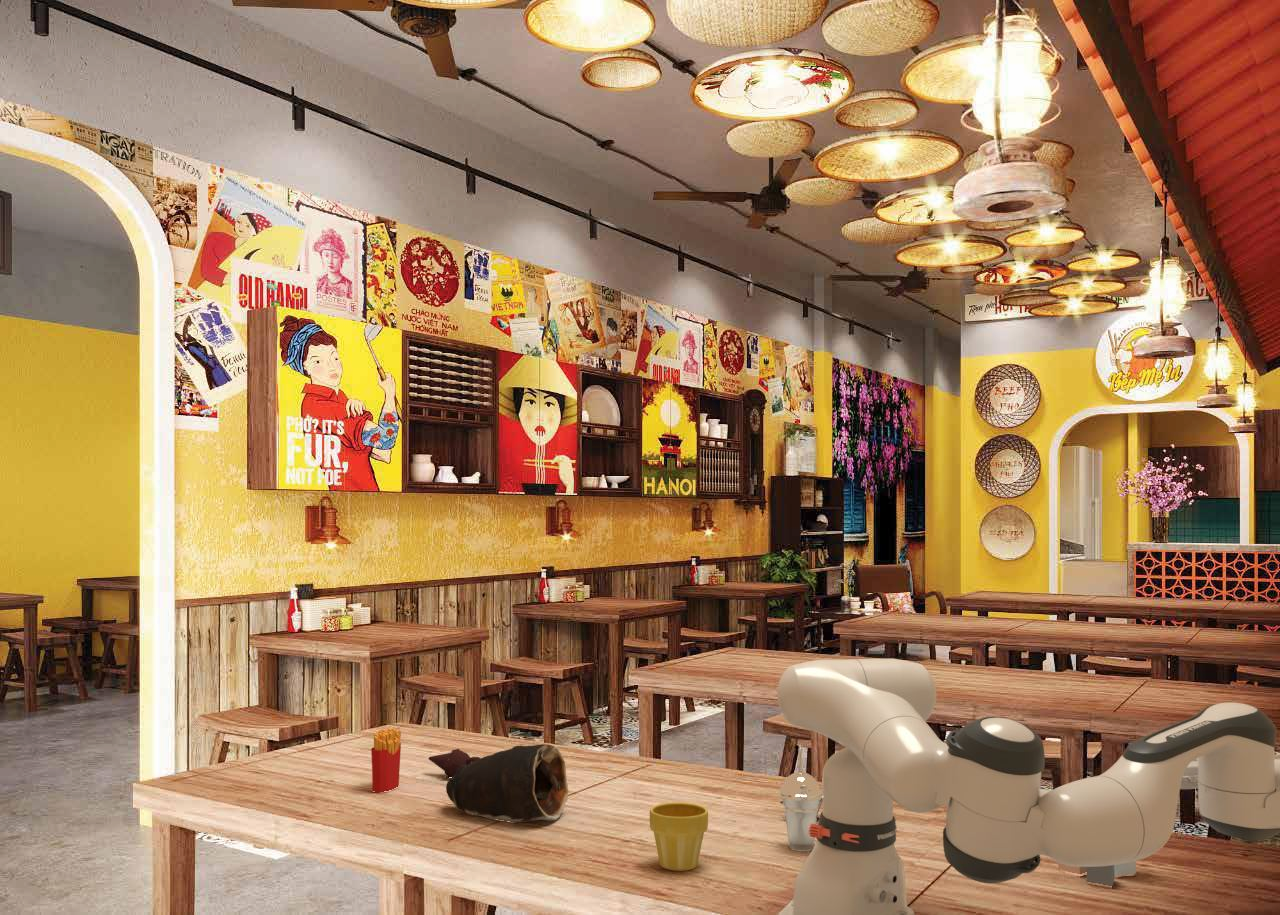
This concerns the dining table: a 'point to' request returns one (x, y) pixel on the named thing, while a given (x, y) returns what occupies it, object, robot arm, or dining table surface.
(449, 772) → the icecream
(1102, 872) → the charcoal cube
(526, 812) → the dark brown tapered cylinder
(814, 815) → the cup with straw
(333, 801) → the dining table surface
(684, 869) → the plant pot
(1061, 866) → the terracotta cube
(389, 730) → the french fries
